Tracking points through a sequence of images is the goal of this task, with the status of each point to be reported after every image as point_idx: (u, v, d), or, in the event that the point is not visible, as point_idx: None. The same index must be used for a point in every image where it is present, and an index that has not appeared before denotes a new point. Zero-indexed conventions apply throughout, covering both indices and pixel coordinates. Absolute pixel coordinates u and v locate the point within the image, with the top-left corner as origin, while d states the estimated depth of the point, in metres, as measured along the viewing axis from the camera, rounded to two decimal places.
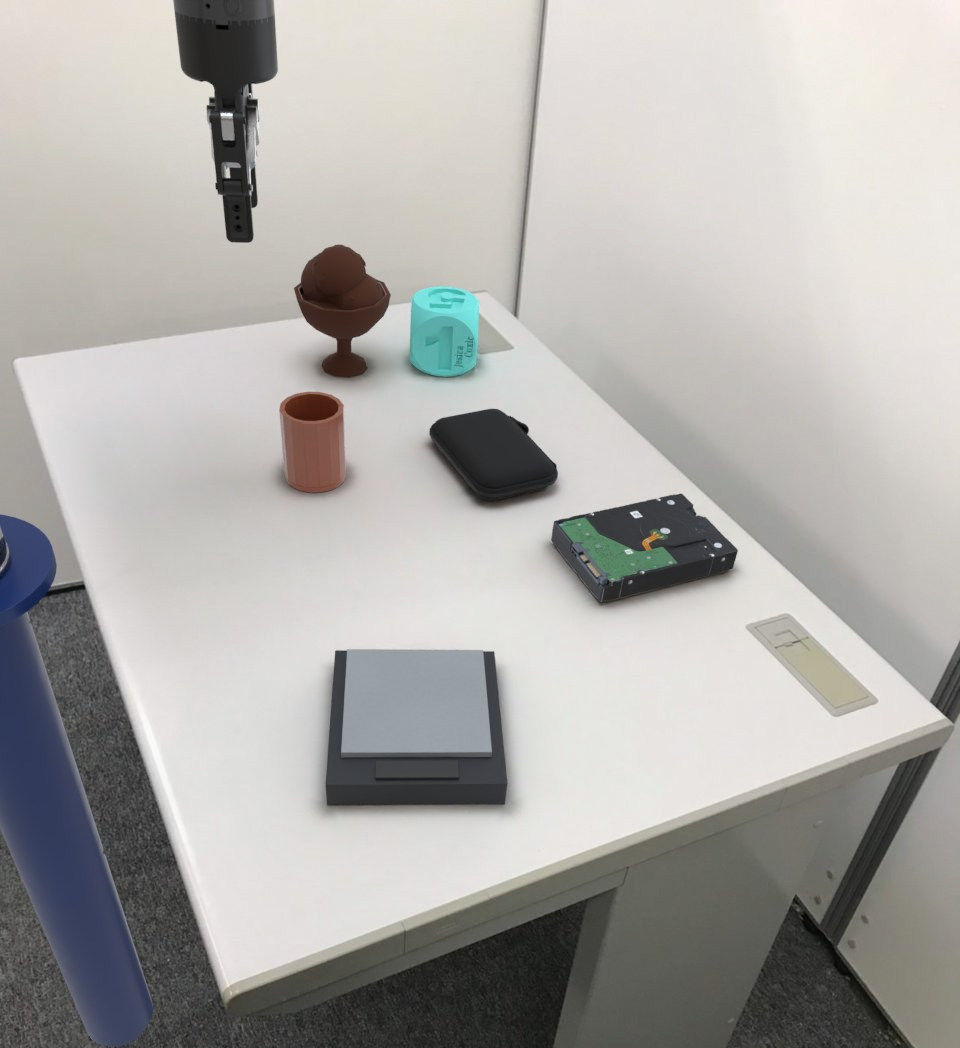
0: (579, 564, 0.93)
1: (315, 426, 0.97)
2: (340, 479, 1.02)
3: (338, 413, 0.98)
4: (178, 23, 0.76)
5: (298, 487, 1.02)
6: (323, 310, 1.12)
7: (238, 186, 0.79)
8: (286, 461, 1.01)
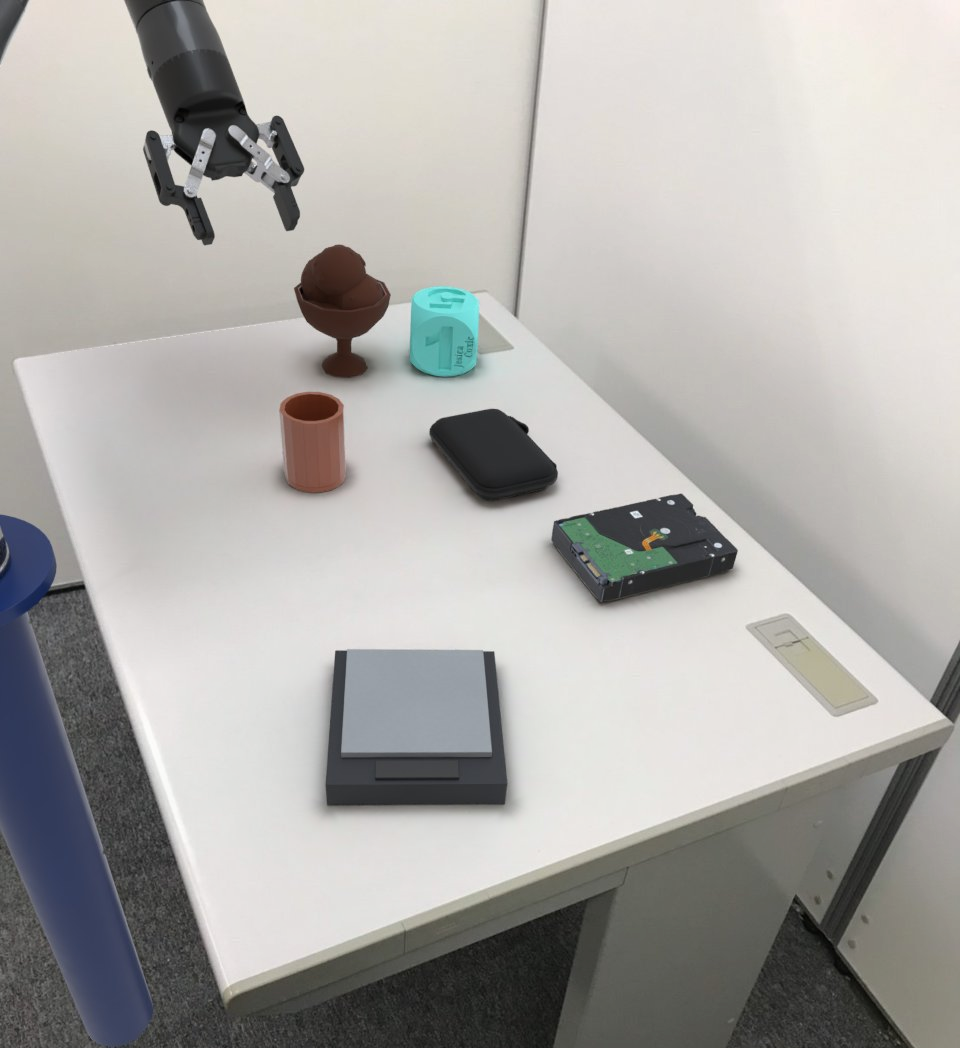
0: (579, 564, 0.93)
1: (315, 426, 0.97)
2: (340, 479, 1.02)
3: (338, 413, 0.98)
4: (216, 57, 0.93)
5: (298, 487, 1.02)
6: (323, 310, 1.12)
7: None
8: (286, 461, 1.01)
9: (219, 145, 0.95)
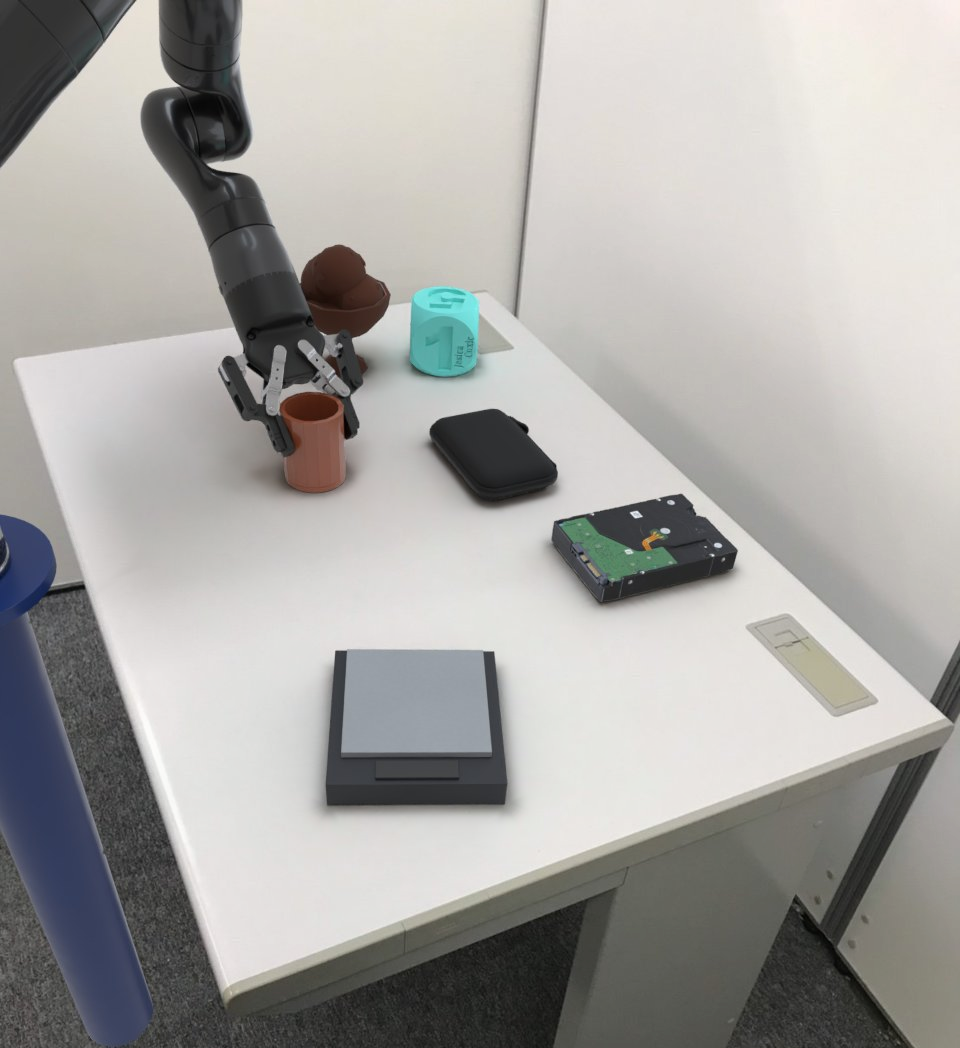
0: (579, 564, 0.93)
1: (315, 426, 0.97)
2: (340, 479, 1.02)
3: (338, 413, 0.98)
4: (287, 278, 0.97)
5: (298, 487, 1.02)
6: (323, 310, 1.12)
7: None
8: (286, 461, 1.01)
9: (288, 358, 0.98)
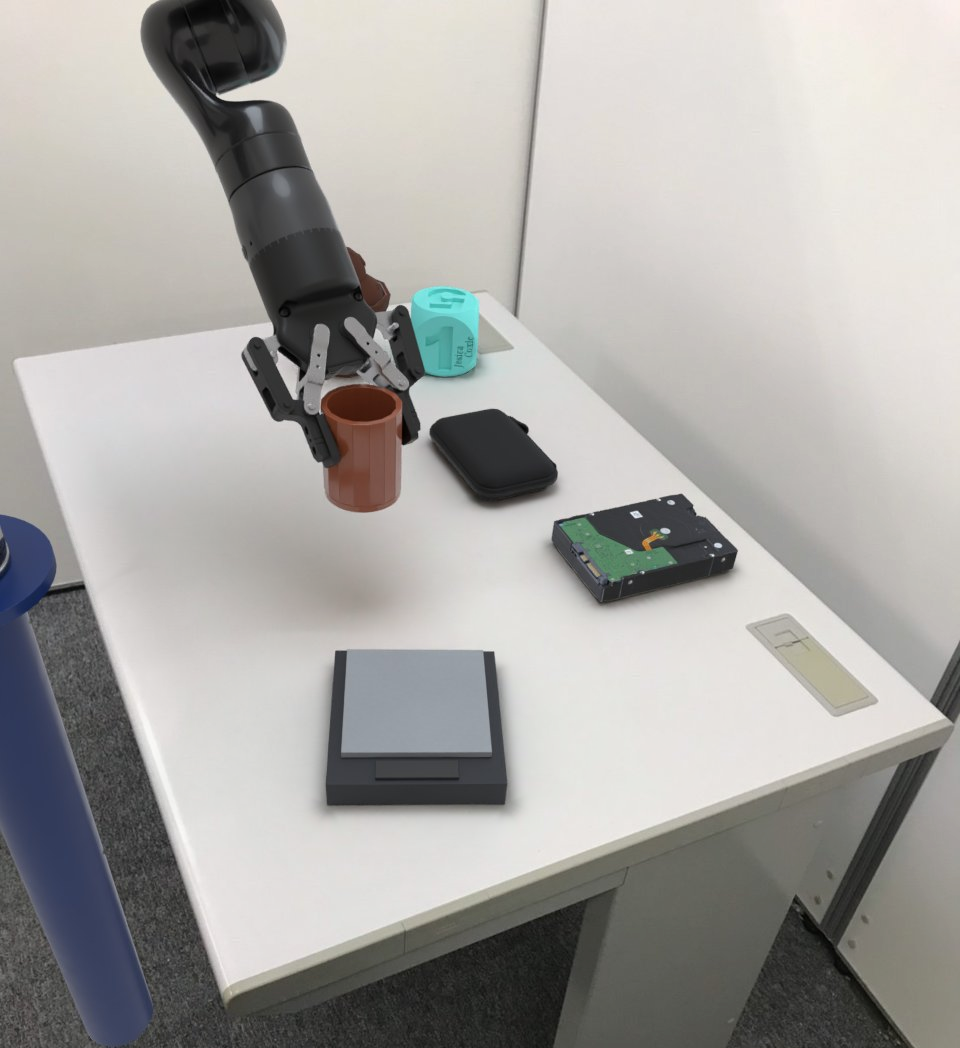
0: (579, 564, 0.93)
1: (368, 428, 0.75)
2: (395, 495, 0.81)
3: (396, 411, 0.76)
4: (331, 237, 0.75)
5: (342, 506, 0.80)
6: None
7: None
8: (327, 473, 0.79)
9: (332, 341, 0.76)
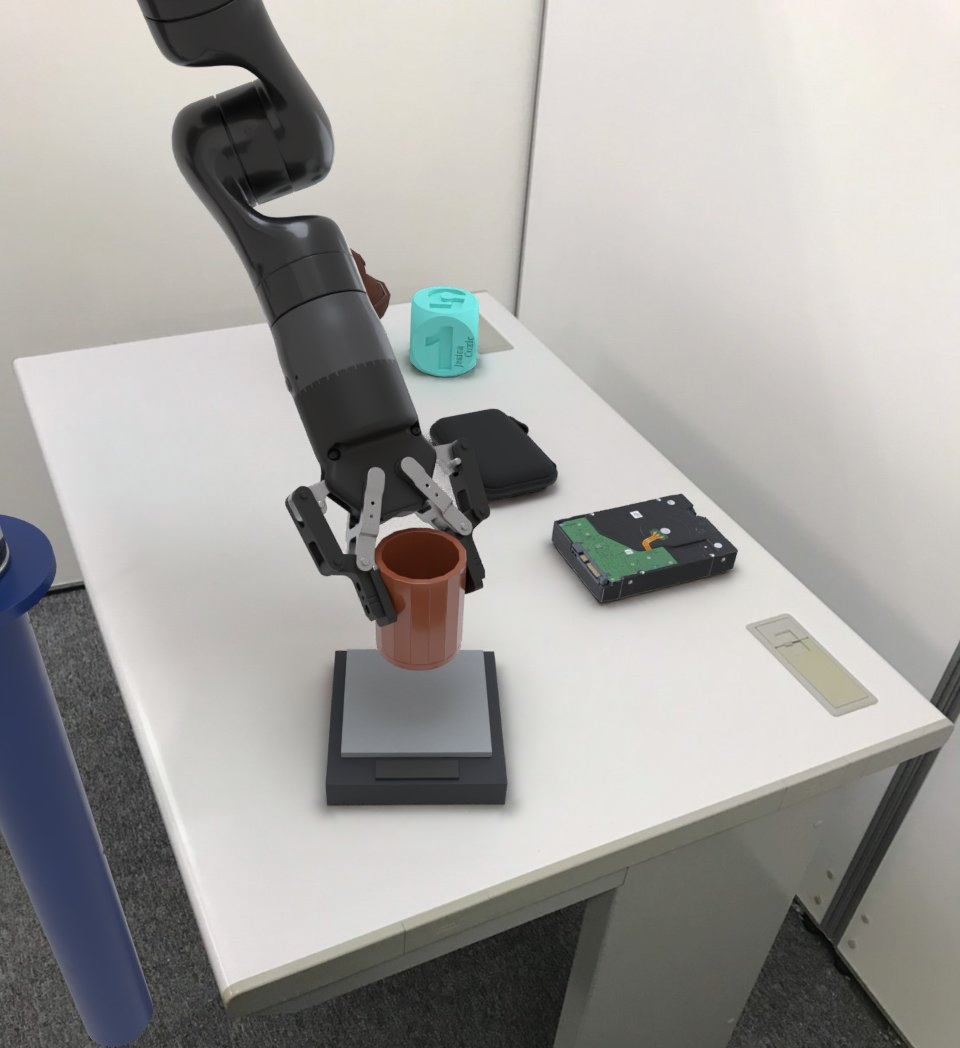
0: (579, 564, 0.93)
1: (429, 587, 0.66)
2: (456, 649, 0.72)
3: (460, 565, 0.67)
4: (387, 369, 0.66)
5: (397, 663, 0.71)
6: None
7: None
8: (381, 628, 0.70)
9: (387, 485, 0.67)
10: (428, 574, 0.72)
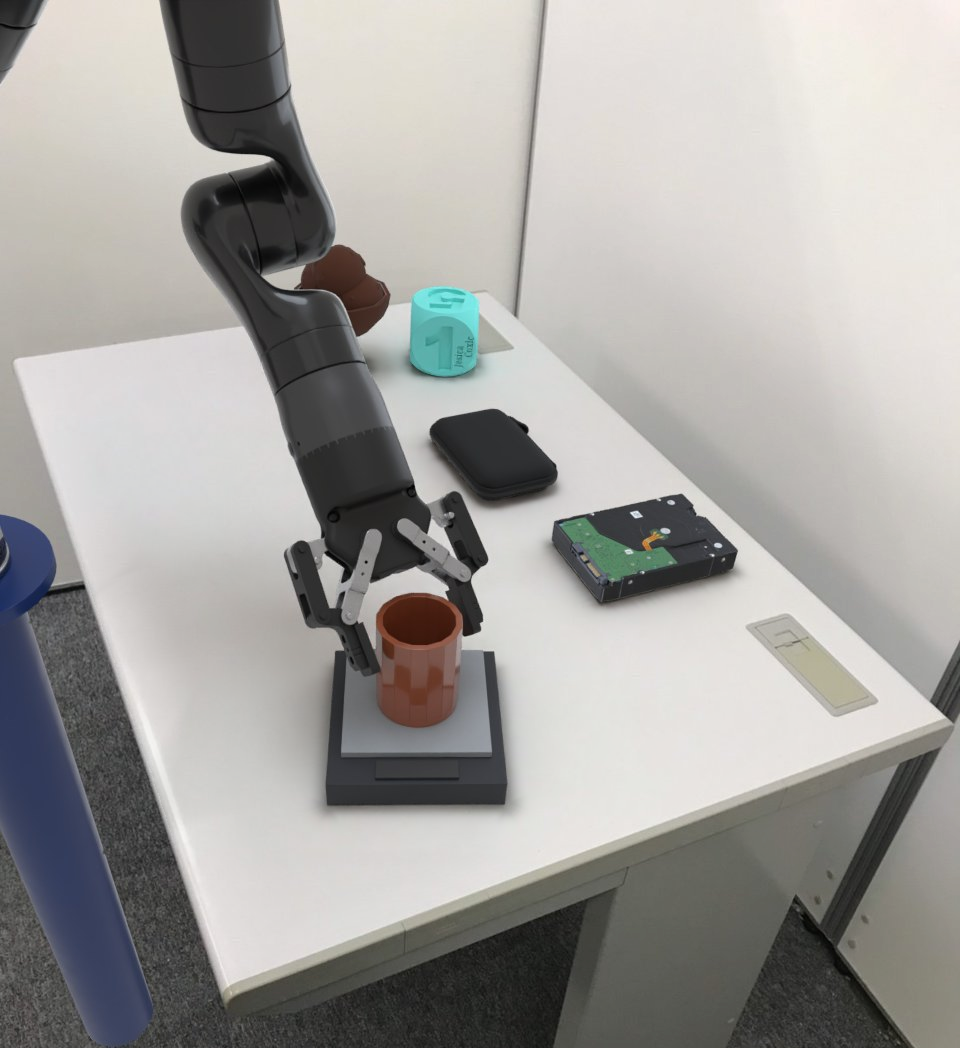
0: (579, 564, 0.93)
1: (427, 653, 0.70)
2: (452, 707, 0.76)
3: (457, 630, 0.71)
4: (385, 436, 0.69)
5: (396, 720, 0.75)
6: None
7: None
8: (381, 688, 0.74)
9: (384, 545, 0.71)
10: (426, 635, 0.76)
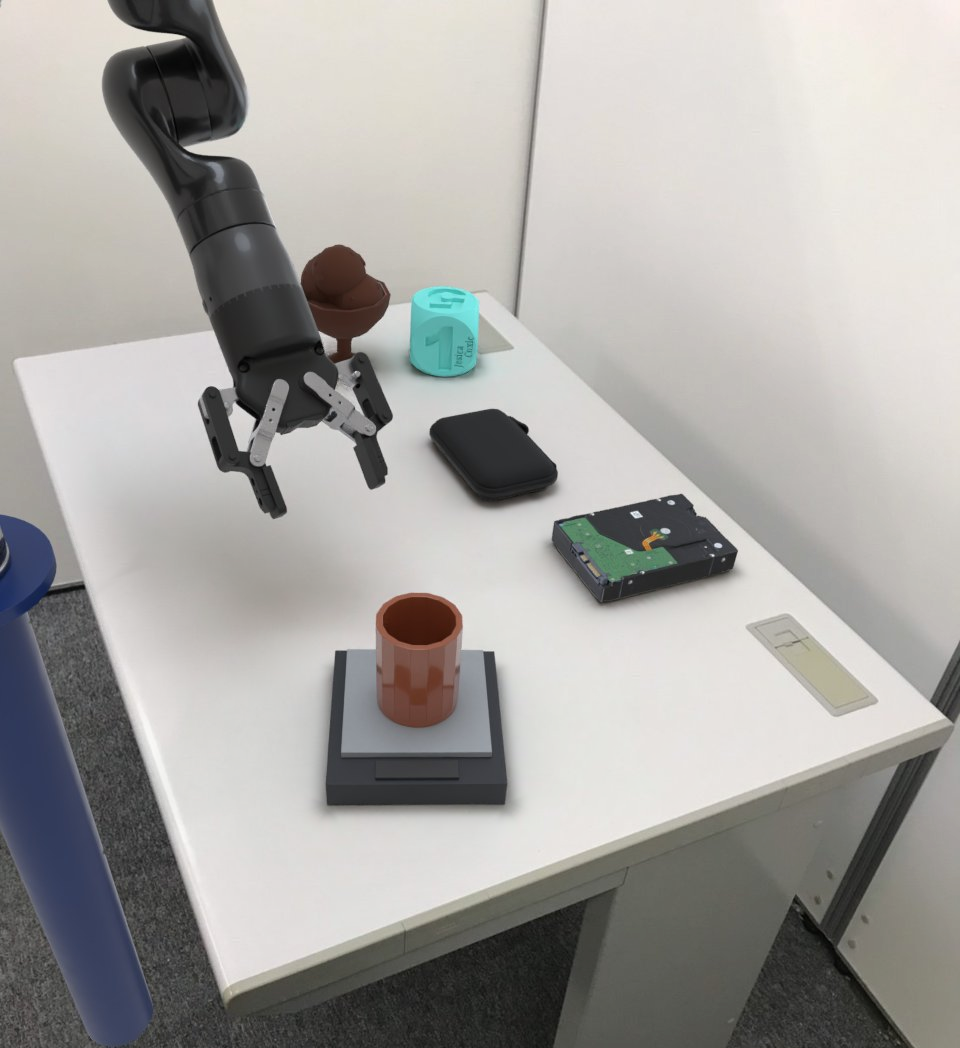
0: (579, 564, 0.93)
1: (427, 653, 0.70)
2: (452, 707, 0.76)
3: (457, 630, 0.71)
4: (291, 293, 0.75)
5: (396, 720, 0.75)
6: (323, 310, 1.12)
7: None
8: (381, 688, 0.74)
9: (291, 396, 0.76)
10: (426, 635, 0.76)
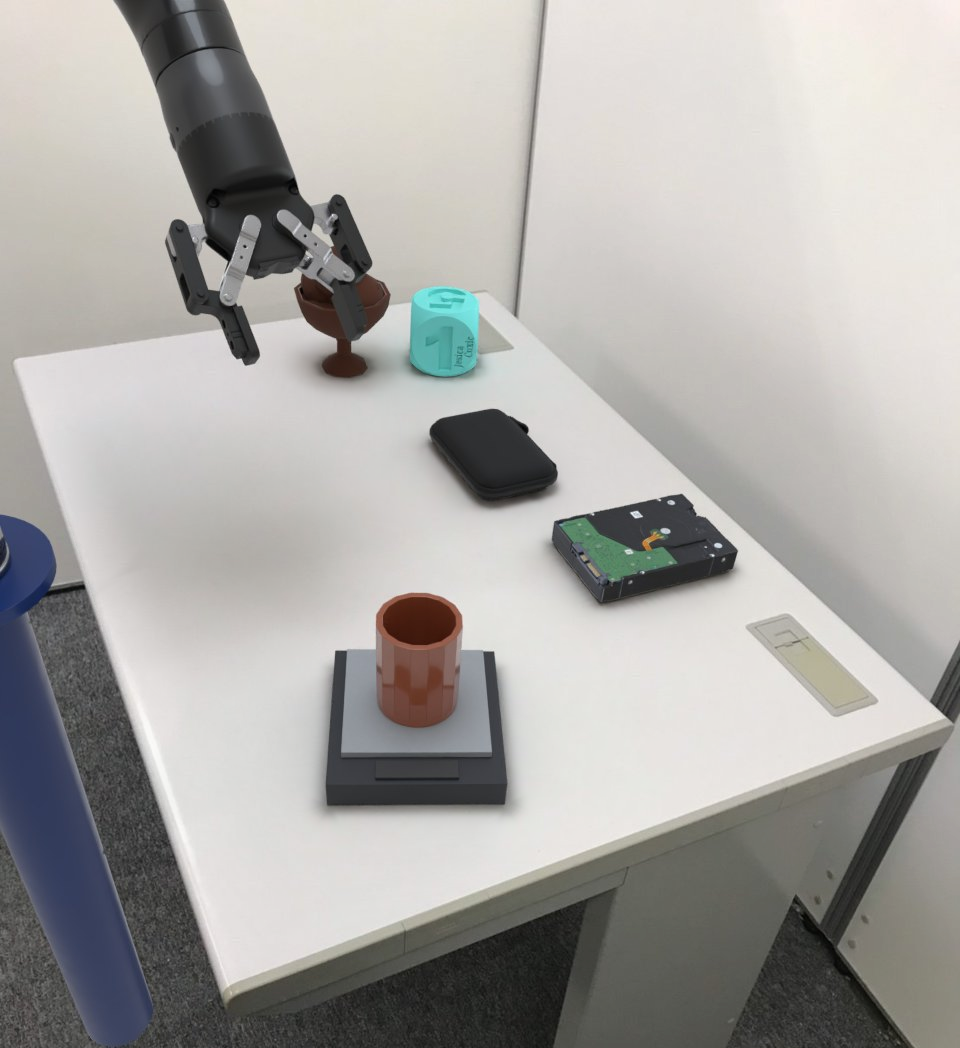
0: (579, 564, 0.93)
1: (427, 653, 0.70)
2: (452, 707, 0.76)
3: (457, 630, 0.71)
4: (262, 122, 0.71)
5: (396, 720, 0.75)
6: (323, 310, 1.12)
7: None
8: (381, 688, 0.74)
9: (264, 235, 0.72)
10: (426, 635, 0.76)
